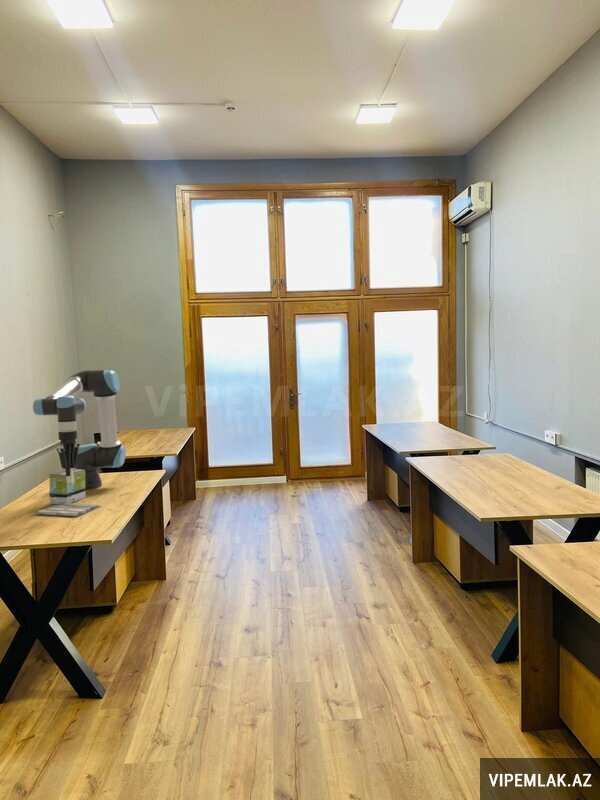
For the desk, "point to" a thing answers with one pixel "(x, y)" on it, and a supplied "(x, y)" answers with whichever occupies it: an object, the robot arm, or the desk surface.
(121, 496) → the desk surface
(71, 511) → the plank
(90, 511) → the grey framed panel
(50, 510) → the plank
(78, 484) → the tea box
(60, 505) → the laid board
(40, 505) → the desk surface
